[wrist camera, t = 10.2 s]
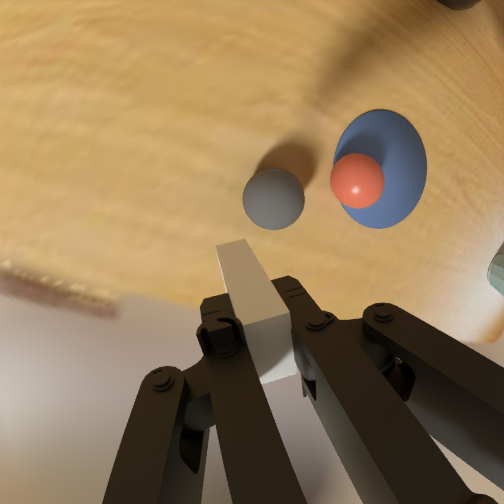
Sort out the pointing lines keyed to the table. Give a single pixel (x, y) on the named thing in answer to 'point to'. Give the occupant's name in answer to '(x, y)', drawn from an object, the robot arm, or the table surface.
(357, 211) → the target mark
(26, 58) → the table surface
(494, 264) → the disposable coffee cup
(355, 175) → the red ball
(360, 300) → the table surface
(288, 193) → the grey ball
